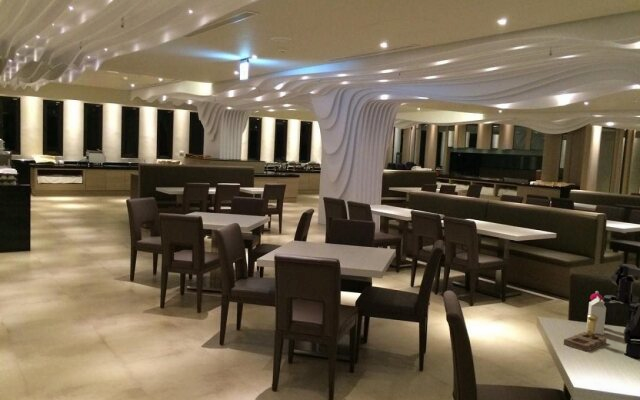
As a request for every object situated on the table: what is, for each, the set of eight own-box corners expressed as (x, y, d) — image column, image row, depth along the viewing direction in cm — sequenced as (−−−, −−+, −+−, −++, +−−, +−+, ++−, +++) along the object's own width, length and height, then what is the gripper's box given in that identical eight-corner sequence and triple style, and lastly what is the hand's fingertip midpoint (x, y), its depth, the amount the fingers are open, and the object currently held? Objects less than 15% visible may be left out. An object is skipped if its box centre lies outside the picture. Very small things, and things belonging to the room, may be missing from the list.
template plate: (584, 336, 282) (584, 331, 282) (605, 343, 273) (606, 338, 273) (563, 344, 268) (564, 339, 268) (586, 351, 259) (586, 346, 259)
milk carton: (588, 333, 288) (592, 298, 287) (586, 329, 295) (589, 295, 293) (603, 335, 286) (607, 300, 285) (600, 331, 293) (604, 296, 291)
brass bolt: (597, 343, 271) (600, 317, 270) (587, 343, 272) (590, 317, 270) (592, 340, 276) (595, 314, 275) (582, 339, 277) (585, 314, 275)
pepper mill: (597, 324, 305) (601, 289, 303) (602, 328, 298) (606, 293, 296) (584, 323, 306) (587, 288, 304) (589, 327, 298) (593, 292, 297)
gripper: (653, 292, 265) (650, 323, 266) (618, 283, 282) (615, 312, 283) (638, 294, 260) (635, 325, 261) (604, 284, 277) (601, 314, 278)
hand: (621, 319), depth 271 cm, fingers open, 9 cm apart
